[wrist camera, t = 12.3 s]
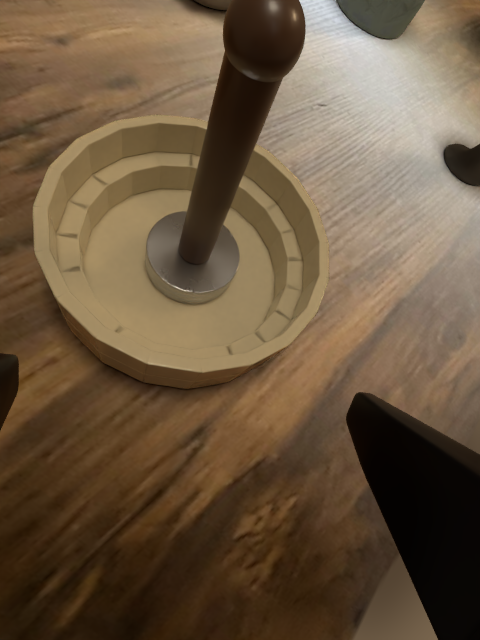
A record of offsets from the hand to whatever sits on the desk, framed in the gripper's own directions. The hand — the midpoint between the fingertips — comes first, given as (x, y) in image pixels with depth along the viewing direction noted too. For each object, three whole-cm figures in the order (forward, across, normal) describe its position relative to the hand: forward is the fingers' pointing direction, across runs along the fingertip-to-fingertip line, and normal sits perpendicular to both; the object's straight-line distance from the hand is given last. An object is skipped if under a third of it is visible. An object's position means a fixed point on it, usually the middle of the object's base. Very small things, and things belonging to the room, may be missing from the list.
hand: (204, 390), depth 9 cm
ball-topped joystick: (+13, 0, 0) cm, 13 cm away
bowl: (+13, 0, 0) cm, 13 cm away
